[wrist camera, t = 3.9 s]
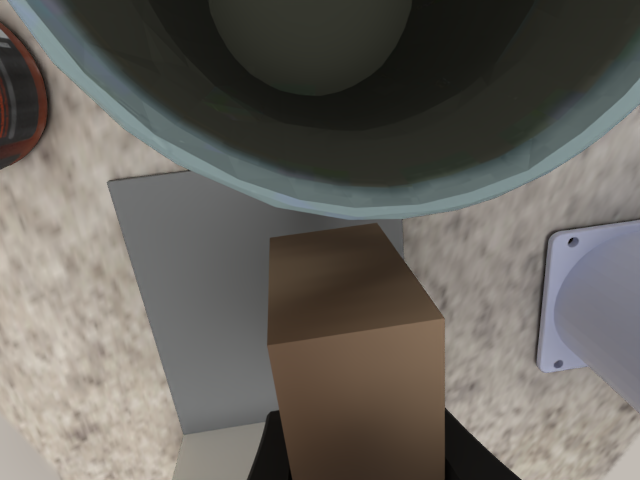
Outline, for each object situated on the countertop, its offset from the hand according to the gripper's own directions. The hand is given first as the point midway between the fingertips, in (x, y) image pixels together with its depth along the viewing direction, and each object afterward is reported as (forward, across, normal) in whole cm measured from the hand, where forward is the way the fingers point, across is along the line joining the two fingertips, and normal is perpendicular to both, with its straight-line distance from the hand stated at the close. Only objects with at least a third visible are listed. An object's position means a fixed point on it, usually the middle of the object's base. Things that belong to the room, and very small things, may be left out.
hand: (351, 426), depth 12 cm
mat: (+9, +2, +5) cm, 10 cm away
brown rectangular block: (+2, 0, 0) cm, 2 cm away
